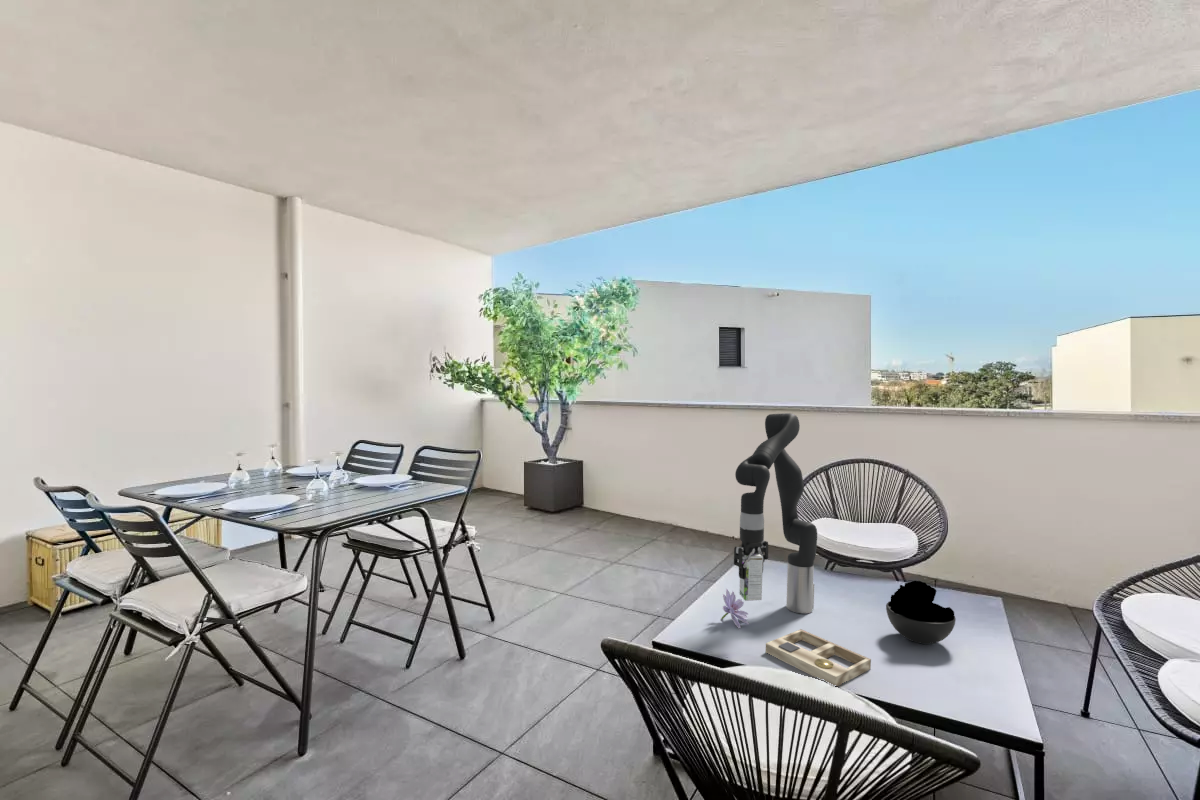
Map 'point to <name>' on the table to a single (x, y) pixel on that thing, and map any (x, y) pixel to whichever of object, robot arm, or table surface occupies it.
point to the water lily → (734, 608)
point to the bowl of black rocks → (919, 614)
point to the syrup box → (752, 579)
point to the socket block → (818, 657)
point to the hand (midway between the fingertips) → (751, 575)
